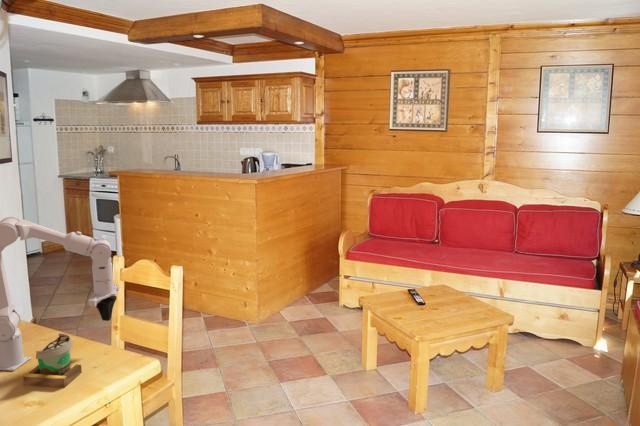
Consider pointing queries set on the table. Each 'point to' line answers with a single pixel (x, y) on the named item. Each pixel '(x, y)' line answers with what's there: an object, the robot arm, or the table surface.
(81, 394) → the table surface
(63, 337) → the food container
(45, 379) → the dock bay
